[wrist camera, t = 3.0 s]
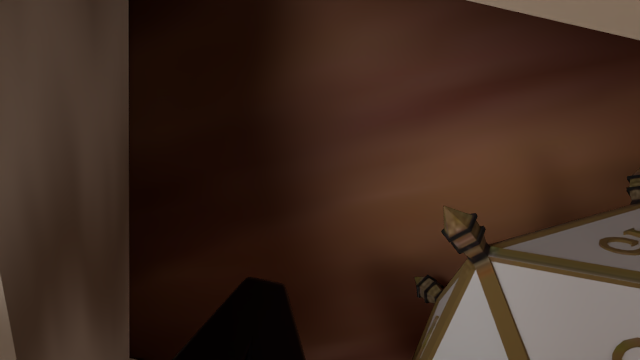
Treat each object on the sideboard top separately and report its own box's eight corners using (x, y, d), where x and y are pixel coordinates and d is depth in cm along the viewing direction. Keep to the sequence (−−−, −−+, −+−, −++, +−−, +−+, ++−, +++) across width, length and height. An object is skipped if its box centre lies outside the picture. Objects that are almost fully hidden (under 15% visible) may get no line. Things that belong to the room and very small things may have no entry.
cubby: (531, 456, 16) (574, 648, 13) (108, 368, 16) (24, 539, 12) (910, -25, 8) (1329, 112, 5) (87, -222, 8) (-173, -244, 4)
